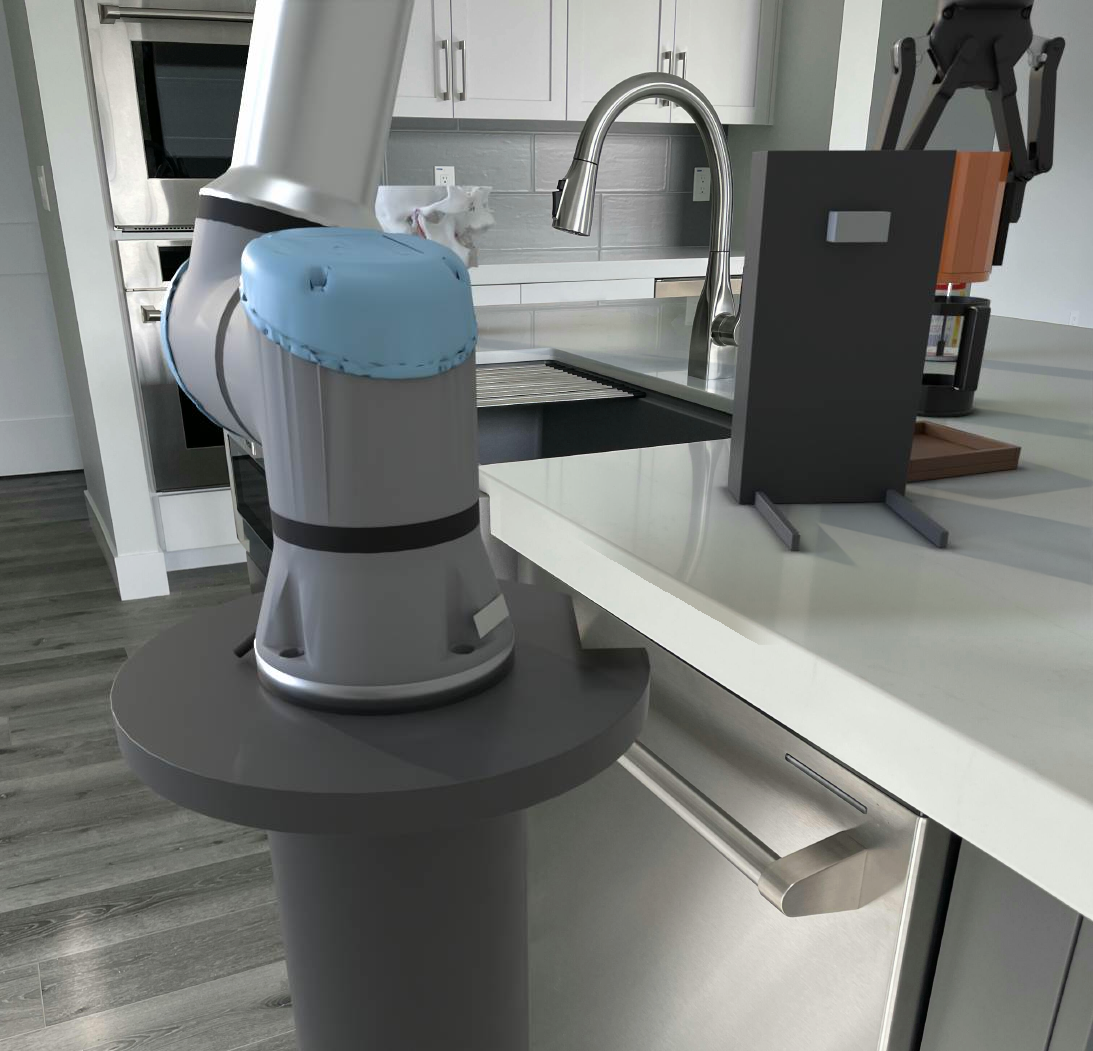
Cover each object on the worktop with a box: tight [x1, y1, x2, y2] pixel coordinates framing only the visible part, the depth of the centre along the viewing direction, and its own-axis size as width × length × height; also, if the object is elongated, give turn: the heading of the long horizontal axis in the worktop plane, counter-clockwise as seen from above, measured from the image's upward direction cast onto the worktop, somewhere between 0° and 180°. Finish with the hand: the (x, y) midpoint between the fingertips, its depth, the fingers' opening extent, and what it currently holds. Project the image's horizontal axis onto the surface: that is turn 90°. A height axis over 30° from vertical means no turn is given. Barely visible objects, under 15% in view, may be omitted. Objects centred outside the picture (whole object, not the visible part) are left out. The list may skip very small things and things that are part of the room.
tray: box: [907, 420, 1022, 483], centre depth 103 cm, size 13×13×2 cm
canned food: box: [927, 283, 967, 348], centre depth 159 cm, size 8×8×12 cm
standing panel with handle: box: [726, 149, 958, 551], centre depth 81 cm, size 14×18×26 cm
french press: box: [917, 266, 993, 418], centre depth 120 cm, size 12×9×23 cm
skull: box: [375, 185, 498, 270], centre depth 181 cm, size 25×19×23 cm
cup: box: [937, 150, 1011, 284], centre depth 94 cm, size 8×8×10 cm
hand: (944, 264), depth 96 cm, fingers closed on cup, 8 cm apart
